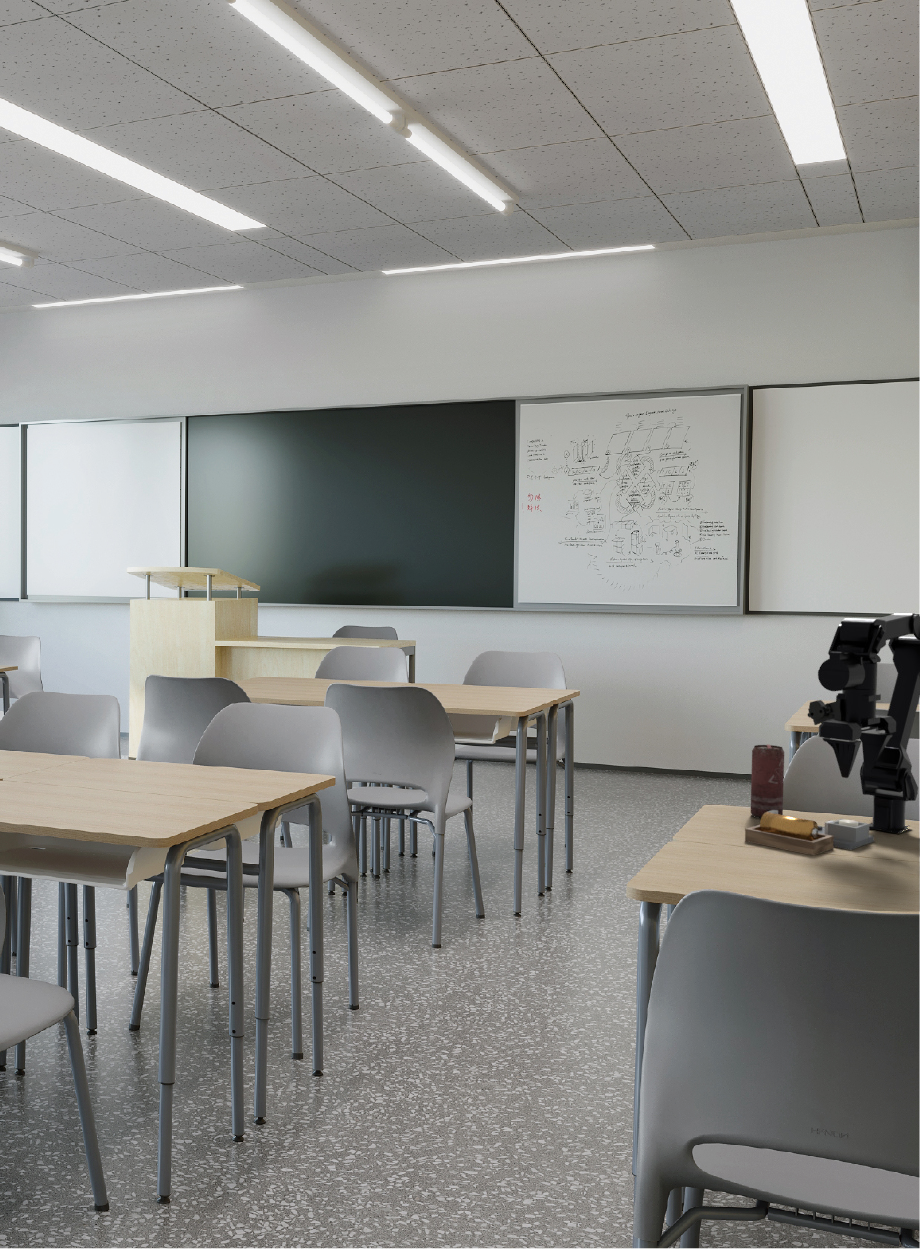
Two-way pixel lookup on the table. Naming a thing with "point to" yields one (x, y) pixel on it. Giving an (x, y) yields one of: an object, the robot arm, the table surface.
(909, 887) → the table surface
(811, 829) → the cell
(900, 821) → the robot arm
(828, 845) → the trough
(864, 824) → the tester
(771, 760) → the can
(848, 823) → the bulb
